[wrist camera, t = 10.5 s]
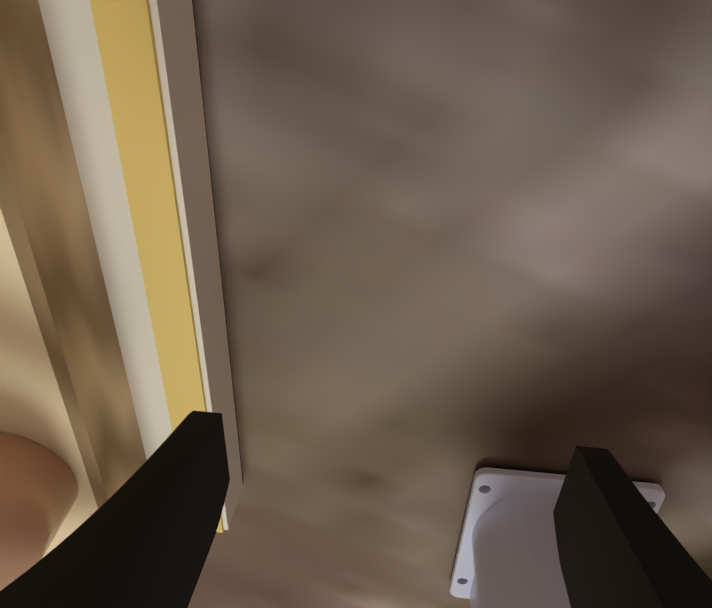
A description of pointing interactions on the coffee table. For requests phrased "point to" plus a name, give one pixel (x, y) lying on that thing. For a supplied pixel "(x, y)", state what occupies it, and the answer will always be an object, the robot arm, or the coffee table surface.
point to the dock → (150, 204)
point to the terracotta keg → (30, 503)
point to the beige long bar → (55, 285)
